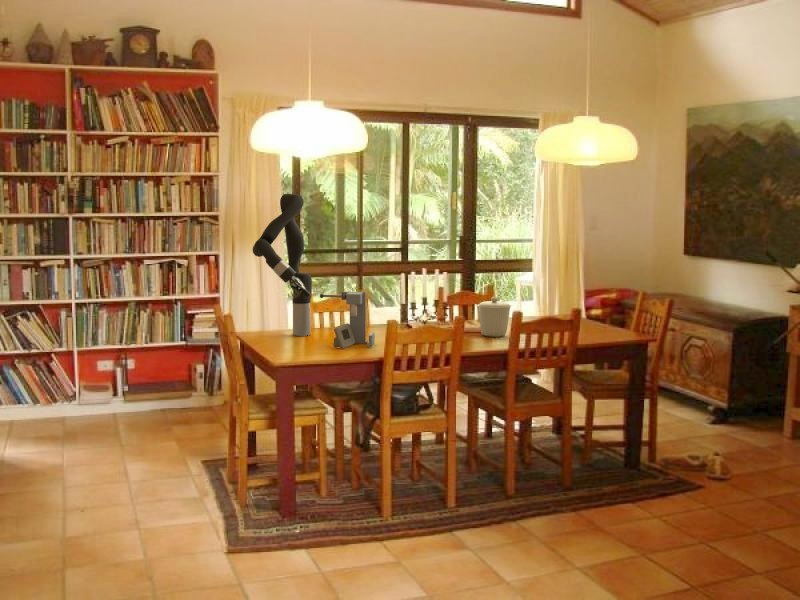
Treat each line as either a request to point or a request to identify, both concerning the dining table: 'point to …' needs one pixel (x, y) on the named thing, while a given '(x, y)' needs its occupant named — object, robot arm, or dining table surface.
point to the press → (358, 316)
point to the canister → (494, 317)
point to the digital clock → (343, 336)
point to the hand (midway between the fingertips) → (308, 295)
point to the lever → (333, 296)
